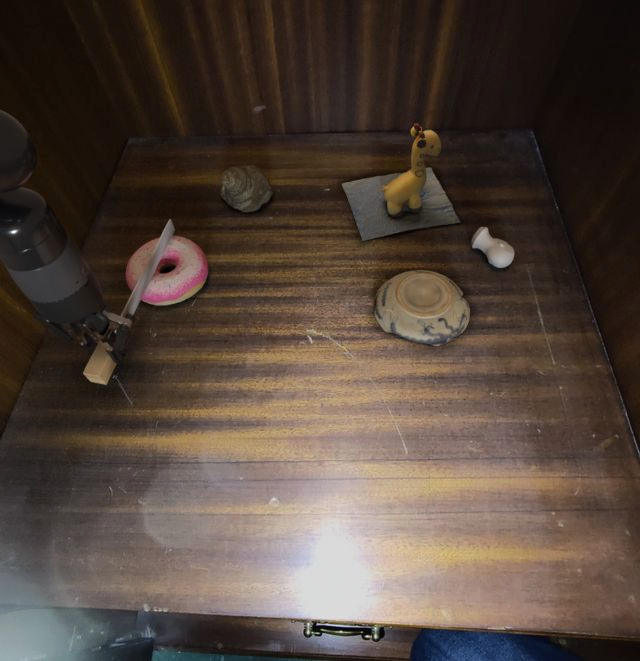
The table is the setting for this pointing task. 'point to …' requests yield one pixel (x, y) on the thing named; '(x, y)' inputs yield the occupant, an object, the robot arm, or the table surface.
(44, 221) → the robot arm
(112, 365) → the knife
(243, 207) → the seashell
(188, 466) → the table surface
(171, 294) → the donut
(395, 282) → the decorative bowl
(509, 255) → the smooth white sculpture
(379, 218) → the stuffed giraffe
